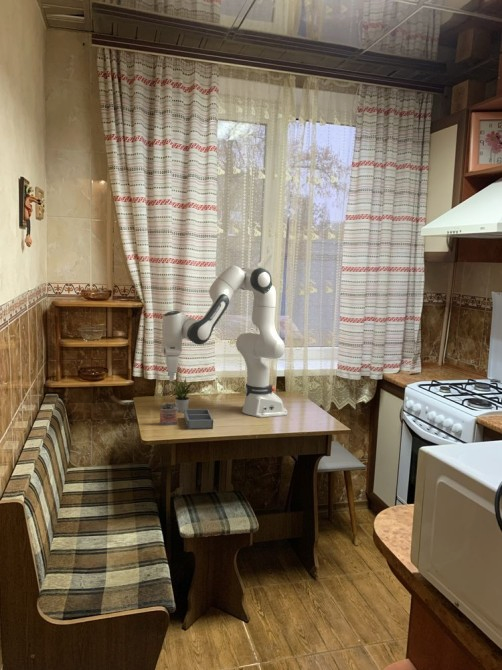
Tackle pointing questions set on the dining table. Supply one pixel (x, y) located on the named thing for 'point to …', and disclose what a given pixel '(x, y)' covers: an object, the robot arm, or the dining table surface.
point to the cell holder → (198, 419)
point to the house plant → (182, 395)
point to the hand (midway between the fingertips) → (170, 378)
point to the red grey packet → (168, 414)
